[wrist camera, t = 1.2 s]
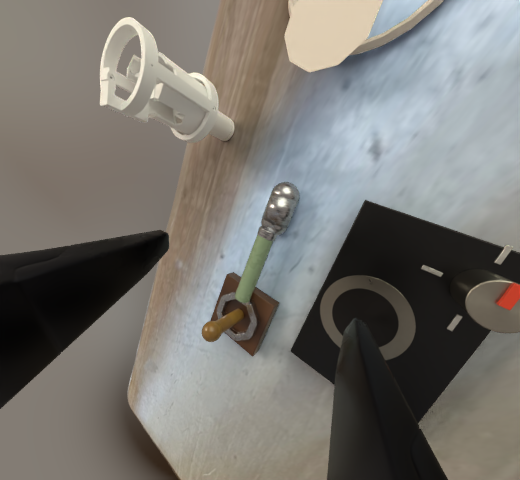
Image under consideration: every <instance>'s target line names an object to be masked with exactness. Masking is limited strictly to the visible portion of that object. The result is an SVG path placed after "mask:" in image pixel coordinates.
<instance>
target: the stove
mask: <svg viewBox="0 0 520 480" xmlns="http://www.w3.org/2000/svg"><path fill="white" fill-rule="evenodd" d="M512 248H513V247H511V246H508V245H505V247H501V246H498V245H495V244H492V243H490V242H487V241H484V240H481V239H478V238H475V237H472V236H469V235H466V234H463V233H460V232H457V231H454V230H452V229H449V228H446V227H443V226H440V225H437V224H434V223H431V222H428V221H425V220H422V219H419V218H416V217H414V216H411V215H408V214H405V213H402V212H399V211H396V210H393V209H390V208H387V207H384V206H381V205H378V204H376V203H373V202H370V201H367V200H365V201H364V203H363V205H362V207H361V209H360V211H359V213H358V215H357V217H356V219H355V221H354V223H353V225H352V227H351V229H350V232H349V234H348V236H347V238H346V240H345V242H344V244H343V246H342V248H341V250H340V252H339V254H338V256H337V258H336V260H335V262H334V264H333V266H332V268H331V270H330V272H329V274H328V276H327V278H326V280H325V282H324V284H323V286H322V288H321V290H320V292H319V294H318V296H317V298H316V300H315V302H314V304H313V306H312V308H311V310H310V312H309V314H308V316H307V318H306V320H305V323H304V325H303V327H302V329H301V331H300V333H299V335H298V337H297V339H296V341H295V343H294V345H293V347H292V349H291V352H292V353H294V354H295V355H296V356H298V357H299V358H300V359H301V360H303V361H304V362H305V363H307V364H308V365H309V366H311V367H312V368H313V369H315V370H316V371H317V372H319V373H320V374H321V375H322V376H324V377H325V378H326V379H328V380H329V381H330V382H332V383H333V384H334V385H335V377H336V369H337V363H338V358H339V353H340V347H339V346H338V345H336V344H335V343H334V342H333V340H332V339H331V338H330V337H329V335H328V334H327V332H326V330H325V328H324V326H323V324H322V320H321V315H320V305H321V301H322V298H323V295H324V293H325V292H326V290H327V289H328V288H329V287H330V286H331V285H332V284H333V283H335V282H336V281H338V280H340V279H342V278H345V277H348V276H353V275H365V276H371V277H374V278H378V279H380V280H383V281H385V282H387V283H388V284H390V285H392V286H393V287H394V288H396V289H397V290H398V291H399V292H400V293H401V294H402V295H403V296H404V297H405V298H406V300H407V301H408V303H409V304H410V306H411V308H412V311H413V314H414V317H415V323H416V329H415V335H414V338H413V341H412V343H411V344H410V346H409V347H408V348H407V350H405V351H404V352H403V353H402V354H400V355H399V356H397V357H395V358H392V359H389V360H385V361H386V363H387V365H388V367H389V369H390V371H391V372H392V374H393V376H394V378H395V380H396V382H397V384H398V386H399V388H400V390H401V392H402V394H403V396H404V398H405V400H406V401H407V403H408V405H409V407H410V409H411V411H412V413H413V415H414V417H415V419H416V421H417V423H419V421H420V420H421V419H422V417H423V416H424V415H425V414H426V412H427V411H428V410H429V409H430V407H431V406H432V405H433V403H434V402H435V401H436V400H437V398H438V397H439V396H440V395H441V393H442V392H443V391H444V390H445V388H446V387H447V386H448V384H449V383H450V382H451V381H452V379H453V378H454V377H455V376H456V374H457V373H458V372H459V370H460V369H461V368H462V367H463V365H464V364H465V363H466V362H467V360H468V359H469V358H470V356H471V355H472V354H473V353H474V351H475V350H476V349H477V348H478V346H479V345H480V344H481V343H482V341H483V340H484V339H485V337H486V336H487V335H488V334H489V332H490V331H491V330H489V329H486V328H484V327H482V326H480V325H479V324H477V323H476V322H475V321H474V320H473V319H472V318H471V317H470V316H469V315H468V314H467V313H466V312H465V311H464V310H463V309H462V308H461V307H460V305H459V304H458V303H457V302H456V301H455V300H454V299H453V297H452V296H451V293H450V284H451V281H452V280H453V278H454V277H455V276H456V275H458V274H459V273H461V272H464V271H467V270H472V269H481V270H486V271H490V272H492V273H495V274H497V275H499V276H502V277H504V278H506V279H509V280H511V281H513V282H516V283H518V284H520V253H519V252H516V251H513V250H512Z"/></svg>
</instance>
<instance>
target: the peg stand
mask: <svg viewBox="0 0 520 480" xmlns="http://www.w3.org/2000/svg"><path fill="white" fill-rule="evenodd" d="M240 280H241V277H240V276H238V275H237V274H235V273H234V272H233V273H230V274H227V276H226V278H225V281H224V284H223V287H222V290H221V293H220V295H219V298H218V301H217V304H216V307H215V310H214V313H213V315H212V318H211V321H209V322H207V323H206V324H205V325H204V326H203V329H202V336H203V338H204V339H205V340H206V341H208V342H214V341H216V340H218V339H219V337H220V336H221V334H222V333H223V332H224V333H225V331H226V330H228V329H229V328H231V327H232V326H233V327H234V328H235V329H236V330H238V331H239V332H241V331H247V329H248V327H249V325H250V322H251V320H250V317H249V314H248V311H247V307H246V306H244V305H243V304H242V303H240V302H239V301H238V300H236V299H234V300H230V301H229V302H228V304H227V307H226V310H225V312H226V315H225V316H223V317H222V318H220V319H218V316H217V312H218V311H217V307H218V305H219V302H220V299H221V297H222V296H223V295H225V294H228V293H231V292H235V291H237V288H238V286H239V283H240ZM251 299H253V302H255V304H256V307H257V310H258V314H259V317H260V320H259V321H260V323H259V326H258V328H257V330H256V333H255V335H254V336H253V337H252V338H250V339H248V340H241V341H236V340H234V341H235V342H236V343H237V344H239V345H240V346H241V347H242V348H243V349H244V350H246V351H247V352H248V353H249V354H250V355H251V356H254V355H255V354H256V353H257V352H258V350H259V348H260V346H261V344H262V341H263V339H264V337H265V335H266V332H267V330H268V328H269V326H270V323H271V321H272V319H273V317H274V314H275V312H276V310H277V308H278V305H279V302H277V301H276V300H274V299H273V298H271V297H270V296H268V295H267V294H265V293H264V292H262V291H261V290H259V289H258V288H256V287H255V289H254V291H253V294H252V296H251ZM229 337H230V336H229ZM230 338H231V337H230Z"/></svg>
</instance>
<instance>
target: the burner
mask: <svg viewBox="0 0 520 480" xmlns="http://www.w3.org/2000/svg"><path fill="white" fill-rule="evenodd" d="M320 315H321V320H322V324H323V326H324V328H325V330H326V332H327V334H328V335H329V337H330V338H331V339H332V340H333V342H334V343H335V344H336V345H338V346H339V347H340V348H341V344H342V339H343V334H344V331H345V329H346V328H347V326H348V325H349V324H350V323H351V321H352V320H353V319H354V318H357V319H359V320H362V321H364V322H365V323H366V324H367V326H368V328H369V330H370V332H371V334H372V336H373V338H374V340H375V341H376V343H377V345H378V347H379V349H380V351H381V353H382V355H383V357H384V359H385V360H389V359H392V358H395V357H397V356H399V355H400V354H402V353H403V352H404V351H405V350H407V348H408V347H409V346H410V344H411V343H412V341H413V338H414V335H415V329H416V323H415V317H414V314H413V311H412V308H411V306H410V304H409V303H408V301H407V300H406V298H405V297H404V296H403V295H402V294H401V293H400V292H399V291H398V290H397V289H396V288H394V287H393V286H392V285H390V284H388V283H387V282H385V281H383V280H380V279H378V278H374V277H371V276H365V275H353V276H348V277H345V278H342V279H340V280H338V281H336V282H335V283H333V284H332V285H331V286H330V287H329V288H328V289H327V290H326V292H325V293H324V295H323V298H322V301H321V305H320Z"/></svg>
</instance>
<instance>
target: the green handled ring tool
mask: <svg viewBox="0 0 520 480" xmlns="http://www.w3.org/2000/svg"><path fill="white" fill-rule="evenodd" d="M298 201H299V191H298V189H297V188H296V186H295V185H293V184H292V183H289V182H282V183H279V184H278V185H276V186H275V187H274V189H273V191H272V193H271V195H270V198H269V201H268V204H267V206H266V209H265V212H264V214H263V217H262V221H261V224H262V226H260V228H259V231H258V235H257V237H256V240H255V243H254V245H253V248H252V251H251V253H250V256H249V259H248V262H247V264H246V267H245V270H244V272H243V275H242V278H241V280H240V283H239V286H238V288H237V291H235V292H231V293H228V294H225V295H223V296H222V297H221V299H220V302H219V305H218V307H217V311H218V312H217V316H218V319H220V318H222V317H223V316H225V315H226V312H225V310H226V307H227V304H228V302H229V301H230V300H234V299H236V300H238V301H239V302H240V303H242V304H243V305H244V306H246V307H247V311H248V314H249V317H250V320H251V322H250V325H249V327H248V329H247V331H241V332H239V331H238V330H236V329H235V328H234V327H233V326H232V327H231V328H229V329H228V330H226V331H225V333H226V334H227V335H228V336H230V337H231V338H232V339H233V340H236V341H241V340H248V339H250V338H252V337H253V336H254V335H255V333H256V330H257V328H258V326H259V323H260V321H259V320H260V317H259V314H258V310H257V307H256V304H255V302H253V299H251V296H252V294H253V291H254V289H255V286H256V284H257V281H258V279H259V276H260V274H261V271H262V269H263V266H264V264H265V261H266V259H267V256H268V253H269V251H270V248H271V246H272V243H273V241H275V239H276V237H277V236H278V235H281V234H283V233H284V232H285V231H286V230H287V228H288V225H289V223H290V220H291V218H292V216H293V213H294V211H295V208H296V206H297V203H298Z"/></svg>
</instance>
